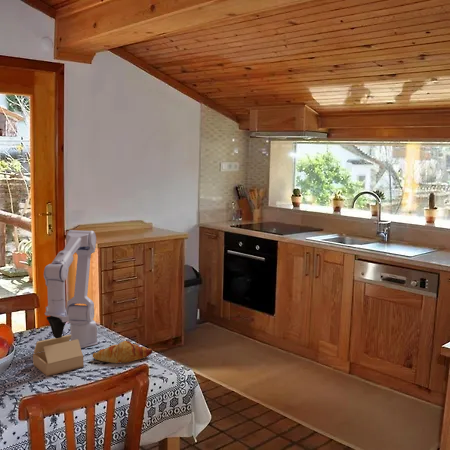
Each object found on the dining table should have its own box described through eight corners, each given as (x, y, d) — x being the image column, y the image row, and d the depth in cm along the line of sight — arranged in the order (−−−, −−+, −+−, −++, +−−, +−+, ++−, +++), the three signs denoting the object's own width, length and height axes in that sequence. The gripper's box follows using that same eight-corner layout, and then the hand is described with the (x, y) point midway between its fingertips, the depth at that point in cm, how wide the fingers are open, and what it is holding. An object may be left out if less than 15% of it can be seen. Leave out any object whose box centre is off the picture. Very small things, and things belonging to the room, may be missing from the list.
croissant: (92, 373, 192) (91, 358, 188) (93, 351, 200) (91, 336, 195) (153, 367, 196) (153, 353, 192) (151, 346, 204) (151, 331, 200)
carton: (68, 356, 198) (68, 345, 197) (83, 366, 189) (83, 355, 188) (33, 365, 189) (32, 353, 189) (46, 376, 180) (46, 364, 180)
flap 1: (67, 345, 197) (67, 344, 197) (71, 335, 194) (70, 334, 194) (34, 353, 189) (33, 352, 189) (37, 342, 186) (36, 341, 186)
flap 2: (77, 339, 190) (78, 339, 189) (82, 355, 188) (82, 355, 187) (43, 347, 182) (43, 346, 182) (47, 364, 180) (48, 363, 180)
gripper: (36, 295, 189) (38, 333, 190) (53, 305, 178) (54, 345, 180) (56, 292, 193) (57, 329, 195) (74, 301, 182) (75, 341, 184)
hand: (57, 337), depth 188 cm, fingers closed
